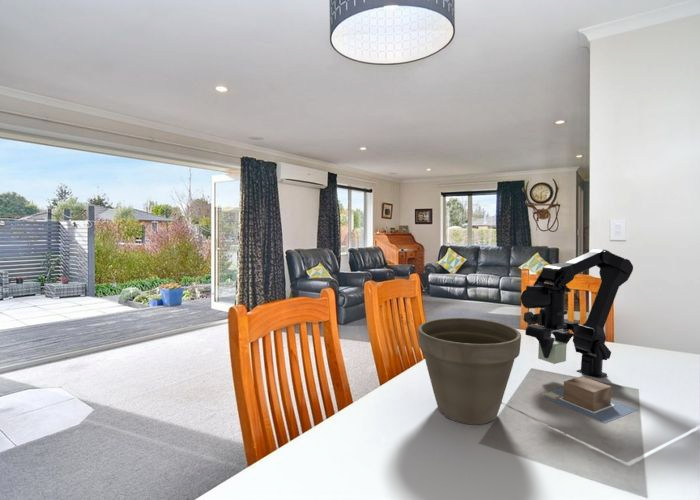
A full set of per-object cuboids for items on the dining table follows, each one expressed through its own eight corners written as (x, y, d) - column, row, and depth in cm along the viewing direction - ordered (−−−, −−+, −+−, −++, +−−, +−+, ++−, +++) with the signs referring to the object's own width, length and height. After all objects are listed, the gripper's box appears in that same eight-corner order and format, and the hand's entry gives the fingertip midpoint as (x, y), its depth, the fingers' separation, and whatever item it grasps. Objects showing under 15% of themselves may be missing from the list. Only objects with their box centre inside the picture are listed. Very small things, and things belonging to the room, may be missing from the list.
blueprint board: (571, 386, 118) (571, 384, 118) (638, 411, 102) (638, 408, 102) (538, 396, 111) (538, 394, 111) (605, 425, 95) (605, 422, 95)
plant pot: (446, 443, 87) (448, 346, 85) (402, 396, 110) (403, 320, 109) (541, 428, 93) (544, 338, 92) (480, 387, 117) (482, 315, 116)
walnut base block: (580, 393, 112) (581, 376, 112) (610, 404, 105) (611, 386, 105) (563, 399, 108) (563, 381, 108) (592, 411, 101) (593, 392, 101)
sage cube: (549, 355, 126) (550, 338, 126) (565, 361, 122) (566, 343, 121) (538, 358, 124) (538, 341, 123) (554, 363, 119) (555, 346, 119)
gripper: (549, 299, 133) (547, 345, 134) (511, 304, 124) (509, 353, 125) (582, 305, 123) (579, 354, 124) (543, 311, 114) (541, 364, 115)
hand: (552, 356), depth 123 cm, fingers closed on sage cube, 5 cm apart
